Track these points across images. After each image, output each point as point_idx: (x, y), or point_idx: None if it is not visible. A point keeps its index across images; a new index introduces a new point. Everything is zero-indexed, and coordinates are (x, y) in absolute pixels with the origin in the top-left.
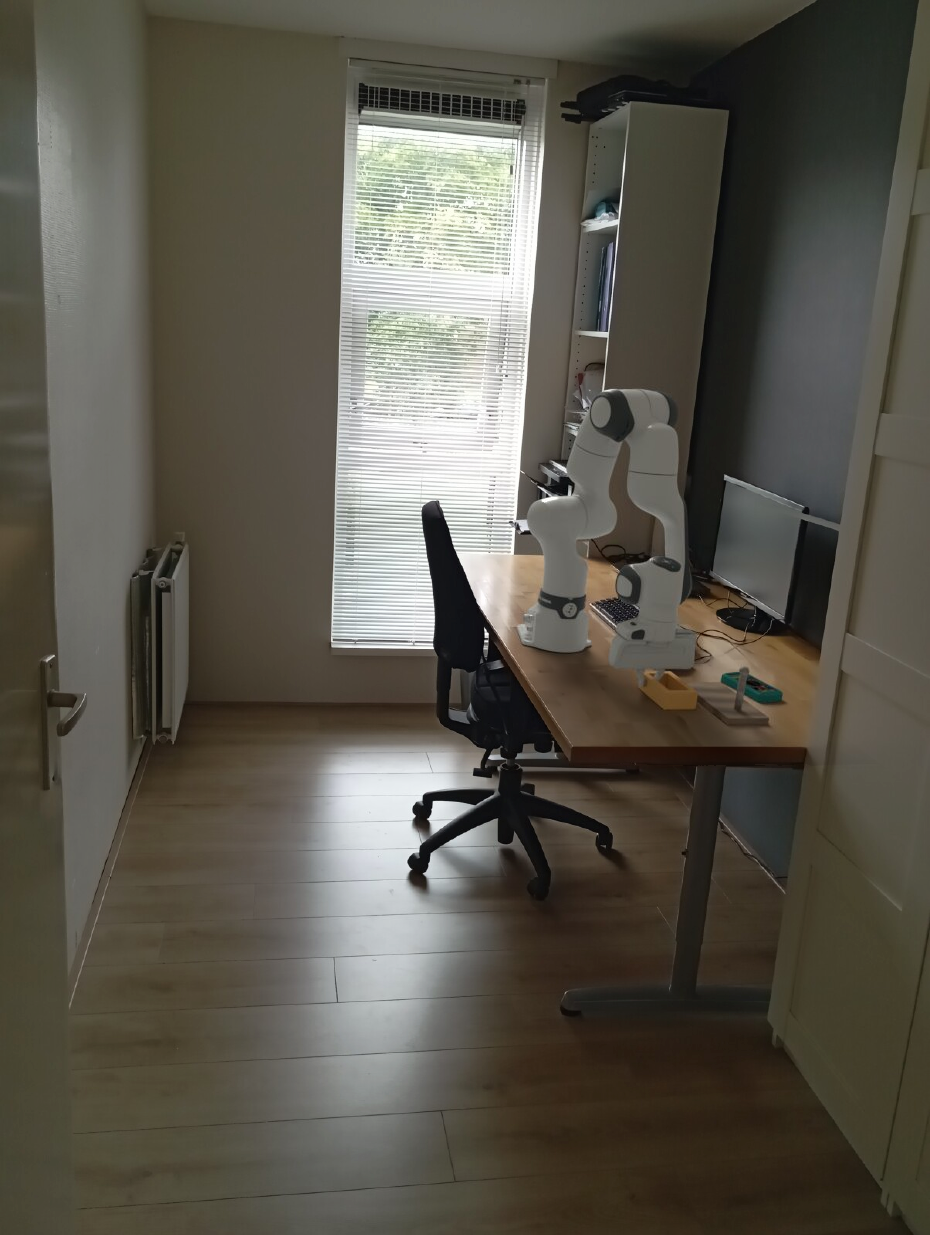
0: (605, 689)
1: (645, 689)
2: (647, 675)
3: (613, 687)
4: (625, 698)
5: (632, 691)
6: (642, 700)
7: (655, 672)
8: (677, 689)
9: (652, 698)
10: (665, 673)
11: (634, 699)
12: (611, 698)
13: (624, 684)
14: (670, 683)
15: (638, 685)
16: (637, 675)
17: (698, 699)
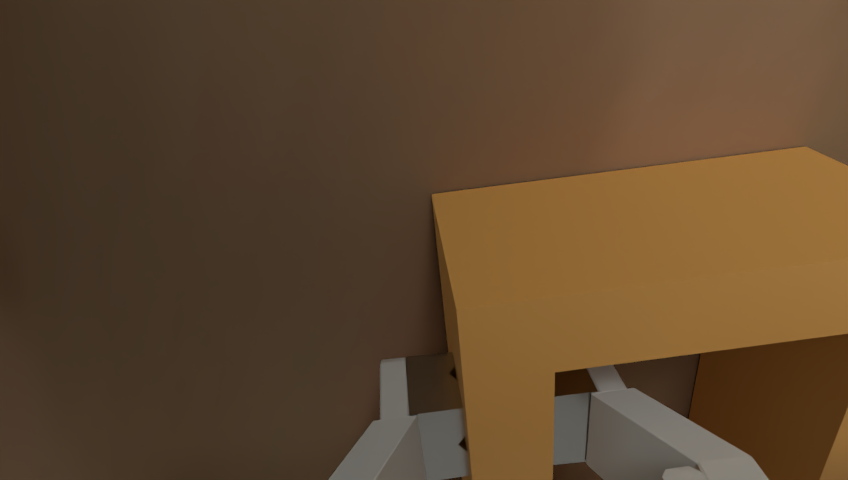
0: (32, 291)
1: None
2: (500, 447)
3: (130, 224)
4: (226, 456)
5: (333, 307)
6: None
7: (697, 324)
8: None
9: None
10: (837, 334)
11: (304, 463)
12: (96, 471)
13: (287, 109)
14: (773, 354)
15: (434, 213)
16: (355, 446)
17: None
